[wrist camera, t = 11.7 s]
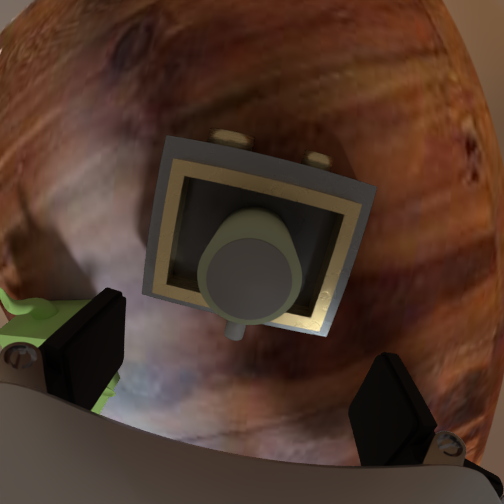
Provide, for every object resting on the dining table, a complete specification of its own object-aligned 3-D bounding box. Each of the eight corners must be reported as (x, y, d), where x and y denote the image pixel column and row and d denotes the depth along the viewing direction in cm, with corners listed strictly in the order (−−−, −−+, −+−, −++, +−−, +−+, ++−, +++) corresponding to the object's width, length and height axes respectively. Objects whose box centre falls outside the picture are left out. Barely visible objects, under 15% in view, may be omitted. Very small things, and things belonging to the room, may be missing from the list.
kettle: (55, 252, 30) (-11, 292, 19) (153, 329, 32) (114, 397, 21) (29, 334, 33) (-17, 379, 23) (108, 396, 36) (76, 454, 25)
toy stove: (361, 168, 26) (391, 173, 19) (317, 309, 30) (330, 349, 23) (186, 125, 25) (161, 116, 19) (159, 272, 30) (133, 304, 23)
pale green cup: (299, 216, 22) (316, 244, 15) (273, 307, 24) (276, 364, 17) (224, 198, 22) (206, 217, 15) (205, 291, 24) (183, 343, 17)
